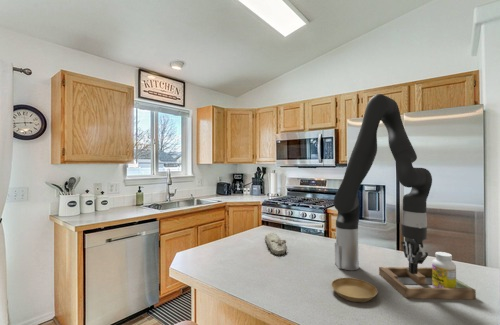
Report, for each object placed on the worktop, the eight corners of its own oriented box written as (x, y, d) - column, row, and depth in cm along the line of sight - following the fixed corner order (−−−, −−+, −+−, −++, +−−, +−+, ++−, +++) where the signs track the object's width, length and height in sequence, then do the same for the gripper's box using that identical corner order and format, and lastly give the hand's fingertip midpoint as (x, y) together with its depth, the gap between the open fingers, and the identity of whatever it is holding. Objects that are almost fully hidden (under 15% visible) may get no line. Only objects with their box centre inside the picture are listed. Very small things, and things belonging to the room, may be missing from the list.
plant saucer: (354, 310, 76) (354, 301, 76) (322, 289, 90) (322, 282, 90) (387, 300, 82) (387, 292, 82) (353, 281, 96) (353, 274, 96)
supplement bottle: (428, 286, 91) (427, 250, 91) (445, 286, 91) (444, 250, 91) (442, 295, 84) (441, 257, 85) (461, 295, 84) (460, 257, 85)
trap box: (405, 298, 83) (405, 288, 83) (379, 274, 101) (379, 267, 101) (475, 299, 82) (475, 290, 82) (436, 275, 100) (436, 267, 100)
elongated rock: (278, 239, 159) (262, 240, 158) (277, 230, 159) (262, 231, 158) (291, 254, 124) (271, 256, 123) (290, 244, 124) (270, 245, 124)
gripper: (393, 219, 95) (392, 265, 95) (413, 228, 82) (412, 281, 82) (414, 220, 94) (413, 266, 94) (437, 229, 81) (436, 282, 81)
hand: (413, 273), depth 88 cm, fingers closed
